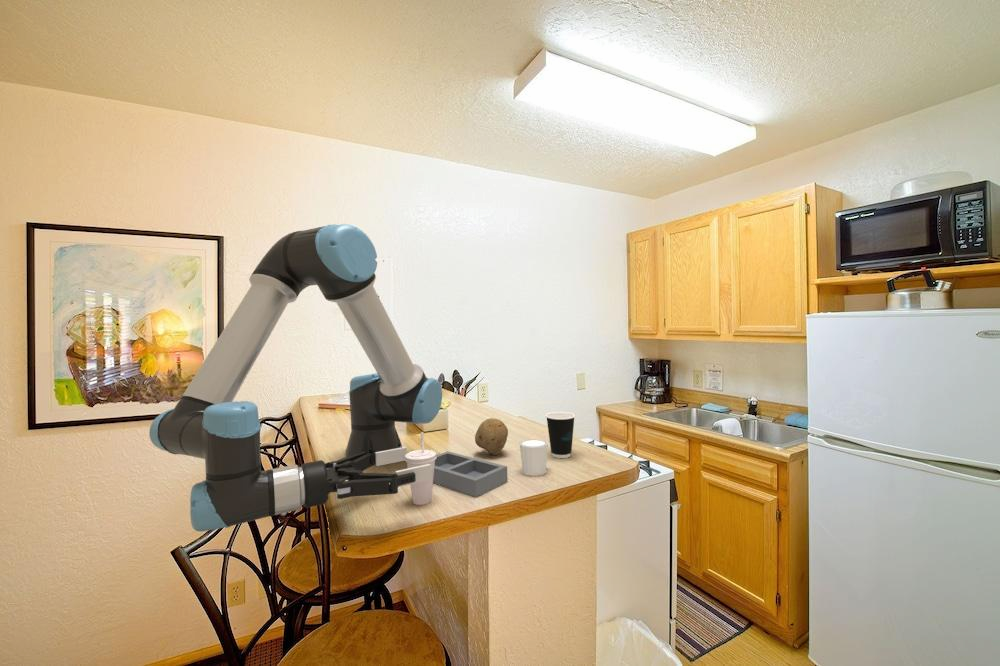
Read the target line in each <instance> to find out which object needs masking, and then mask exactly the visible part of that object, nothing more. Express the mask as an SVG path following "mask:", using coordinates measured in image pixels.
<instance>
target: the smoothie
mask: <svg viewBox="0 0 1000 666" xmlns="http://www.w3.org/2000/svg"><path fill="white" fill-rule="evenodd" d="M424 435H425V434H424V431H421V432H420V444H421V449H416V450H413V451H409V452H407V454H406V455H405V463H406V466H407V469H408V468H412V467H417V466H422V465H426V464H430V465H431V479H430V480H426V481H422V482H418V483H413V484H409V485H410V491H411V492H410V493H411V497H412V498H411V499H412V503H413V504H414V505H417V506H424V505H427V504H430V503H431V502H432V497H433V488H434V487H433V486H434V483H433V476H434V466H435V459H436V458H437V457H436V455H437V452H436V451H435V450H433V449H425V438H424V437H425V436H424Z"/></svg>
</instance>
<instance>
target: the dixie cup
mask: <svg viewBox="0 0 1000 666" xmlns="http://www.w3.org/2000/svg"><path fill="white" fill-rule="evenodd" d="M575 417H576V415H575V414H574V413H573V412H567V411H553V412H548V413H546V414H545V418H546V423H547V432H548V439H549V445H550V452H551V455H552V457H553V458H555V457H556V458H555V459H560V458H564V459H569V458H570V457H571V453H572V452H573V451H572V450H573V449H572V448H573V438H574V437H573V436H574V425H575V424H574V423H575ZM568 457H569V458H568Z"/></svg>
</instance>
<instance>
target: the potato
mask: <svg viewBox="0 0 1000 666" xmlns="http://www.w3.org/2000/svg"><path fill="white" fill-rule="evenodd" d="M508 434H509V430H508V427H507V425H506V424H505V423H504V421H502V420H501V419H498V418H492V417H491V418H487V419H485V420H484V421H482V422H481V423H480V424H479V426H478V428H477V431H476V433H475V435H474V442H475V445H477V446H478V447H479V448H481V449H483V450H484V451H486V452H487V453H488V454H490V455H492V456H496V455H498V454H500V453H501V452H502V450H503V449H504V448H505V446H506V443H507V440H508V436H509V435H508Z"/></svg>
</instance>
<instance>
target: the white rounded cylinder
mask: <svg viewBox="0 0 1000 666" xmlns="http://www.w3.org/2000/svg"><path fill="white" fill-rule="evenodd" d="M548 447H549V443H548V442H547V441H546V440H542V439H524V440H522V441H520V442H519V449H520V450H519V451H520V460H521V466H522V473H523V474H524V475H525V476H528V477H529V476H530V477H539V476H543V475H545V474H546V473H547V464H548V450H549V448H548Z"/></svg>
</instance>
